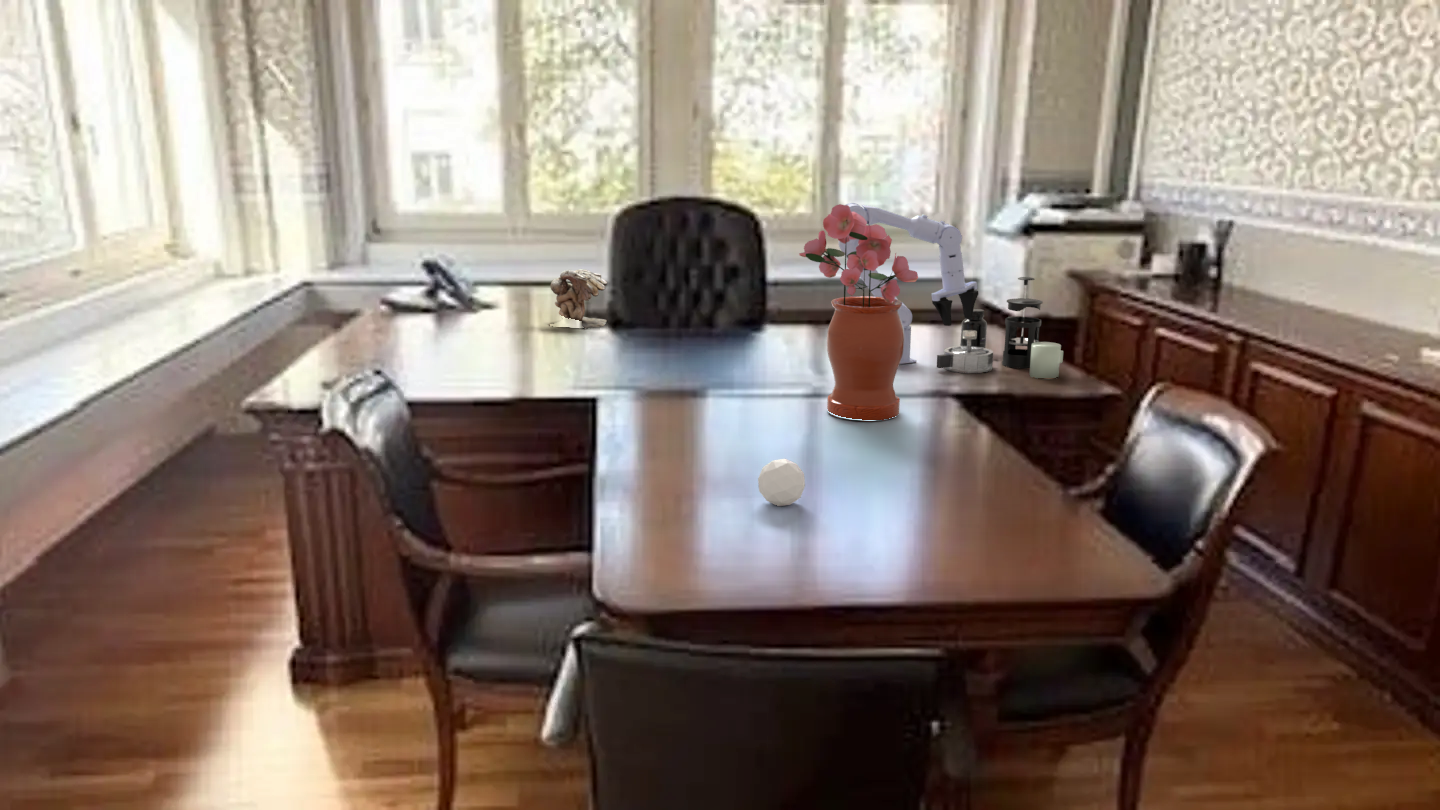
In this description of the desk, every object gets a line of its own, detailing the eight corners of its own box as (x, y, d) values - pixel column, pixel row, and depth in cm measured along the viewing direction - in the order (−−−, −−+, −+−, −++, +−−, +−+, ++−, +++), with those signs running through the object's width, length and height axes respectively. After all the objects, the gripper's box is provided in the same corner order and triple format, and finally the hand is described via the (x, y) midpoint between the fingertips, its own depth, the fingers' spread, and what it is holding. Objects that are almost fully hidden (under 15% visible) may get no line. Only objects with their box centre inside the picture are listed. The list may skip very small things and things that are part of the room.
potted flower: (794, 401, 240) (796, 201, 228) (903, 399, 241) (912, 200, 230) (805, 424, 222) (809, 207, 210) (923, 421, 223) (933, 206, 211)
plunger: (964, 358, 265) (966, 335, 263) (944, 352, 273) (945, 329, 271) (993, 355, 268) (994, 332, 267) (971, 349, 276) (973, 327, 275)
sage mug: (1042, 380, 259) (1044, 348, 257) (1023, 374, 265) (1025, 343, 263) (1069, 376, 262) (1072, 345, 260) (1050, 371, 268) (1052, 340, 266)
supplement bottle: (987, 355, 287) (990, 312, 283) (962, 355, 287) (965, 312, 284) (982, 350, 293) (984, 307, 290) (957, 350, 293) (960, 307, 290)
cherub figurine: (569, 317, 347) (566, 263, 343) (618, 320, 341) (616, 265, 336) (541, 326, 331) (538, 269, 327) (592, 330, 325) (590, 272, 320)
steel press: (952, 376, 263) (952, 358, 261) (924, 367, 273) (924, 349, 272) (1001, 370, 269) (1002, 353, 267) (972, 361, 279) (973, 344, 278)
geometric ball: (769, 517, 177) (752, 473, 179) (814, 499, 177) (796, 456, 179) (765, 509, 170) (748, 464, 172) (811, 491, 169) (793, 446, 172)
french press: (1047, 368, 271) (1054, 279, 266) (1014, 370, 269) (1020, 280, 263) (1023, 358, 282) (1029, 273, 276) (991, 360, 280) (997, 274, 274)
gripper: (942, 277, 267) (948, 329, 270) (983, 265, 274) (988, 316, 277) (923, 276, 273) (929, 327, 276) (963, 265, 280) (969, 314, 283)
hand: (958, 321), depth 277 cm, fingers open, 7 cm apart
